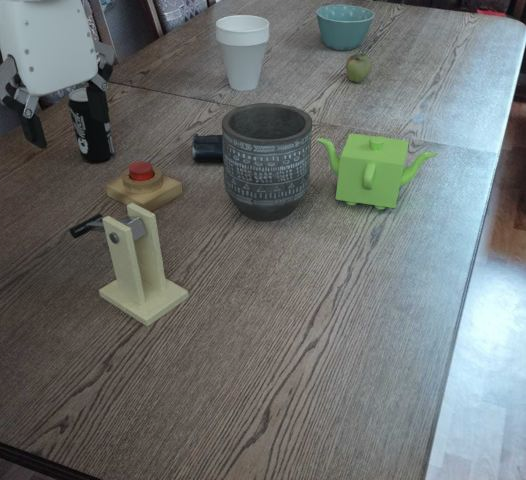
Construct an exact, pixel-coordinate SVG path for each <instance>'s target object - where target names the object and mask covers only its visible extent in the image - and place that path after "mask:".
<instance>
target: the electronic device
mask: <svg viewBox="0 0 526 480" xmlns="http://www.w3.org/2000/svg"><path fill="white" fill-rule="evenodd" d="M192 137H193V138H192V143H191V151H192V153H191V154H192V160H193V161H194V162H195V163H200V162H205V163H218V162H220V163H224V161H223V142H222V134H208V135H199V134H198V133H197V132H193V136H192Z"/></svg>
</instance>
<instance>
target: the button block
mask: <svg viewBox="0 0 526 480" xmlns="http://www.w3.org/2000/svg"><path fill="white" fill-rule="evenodd" d="M151 165H152V168H153V174H154V176H153V178H151V179H149V180H145V181H134V180H132V179H131V178H130V172H129V167H128V168H126V169H125V170H124V171H123V172H122V173H121V175H120V177H118V178H116V179H115V178H114V179H113V180H110V181H109V182H108V183H105V184H104V186H105V191H106V195H107V196H108V197H109V198H111V199H113V200H115V201H117V202H119V203H121V204H122V205H125V206H126V207H127V205H129V204H131V203H134V204H136V205H138V206H140V207H142V208H144V209H146V210H148V211H150V212H152V213H153V211H156V210H158V209H159V208H161V207H163V206H164V205H166V204H168V203H170V202H172V201H173V200H175V199H177V198H178V197H181V196H182V195H183V194H184V193H183V184H182V182H180V181H178V180H176V179H173V178H171V177H169V176H167V175H165V174H163V172H162V170H161V168H160V167H157V166H155V165H153V164H151Z"/></svg>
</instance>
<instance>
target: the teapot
mask: <svg viewBox="0 0 526 480" xmlns="http://www.w3.org/2000/svg"><path fill="white" fill-rule="evenodd" d="M316 141H318V142H319V143H321V145H323V146H324V148H325V149H326V151H327V155H328V161H329V165H330V166H329V167H330V169H331V170H332V172H333V173H334V175H336V176H337V183H336V193H335V200H337V201H344V202H345V204H346V205H349V206H355V205H357V204H364V205H371V206H373V207H374V208H375V209H377V210H385V209H387V208H389V209H396V207H397V203H398V199H399V194H400V189H401V187H403V186H405V185H408V184H410V182H412V180H414V178H415V177H416V175H417V174H418V172H419V170H420V168H421V166H422V165H423V164H424V163H425V161H427V160H428V159H431V158H433V157H436V156H438V153H435V152H429V151H427V152H422V153H420V154H419V155H417V157H416V158H415V159H414V161H413V163H412V164H411V165H409V166H408V167H406V168H405V164H406V160H407V153H408V150H409V144H410V140H407V139H398V138H390V137H384V136H383V135H379V134H378V135H367V134H360V133H348V136H347V139H346V142H345V144H344V146H343V148H342V151H341V154H340V157H339V156H338V154H337V151H336V147H335V145H334V143H333V141H331V140H330V139H326V138H321V137H319V138H316Z"/></svg>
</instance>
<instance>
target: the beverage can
mask: <svg viewBox="0 0 526 480" xmlns="http://www.w3.org/2000/svg"><path fill="white" fill-rule="evenodd" d="M67 105H68V109H69V113H70V117H71V121H72V125H73V129H74V133H75V138H76V142H77V146H78V149H79V153H80V157H81V158H82V159H84V160H85V161H86V162H89V163H93V164H100V163H105V162H108V161H109V160H111V159H113V156H114V155H115V152H116V149H115V143H114V139H113V134H112V130H111V124H110V122H109V123H107V124H105V123H102V122H100V121H98V120H96V119H94V118H92V116H91V113H90V108H89V103H88V99H87V94H86V87H81V88H76V89H73V90H72V91H70V92H69V93H68V104H67Z"/></svg>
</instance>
